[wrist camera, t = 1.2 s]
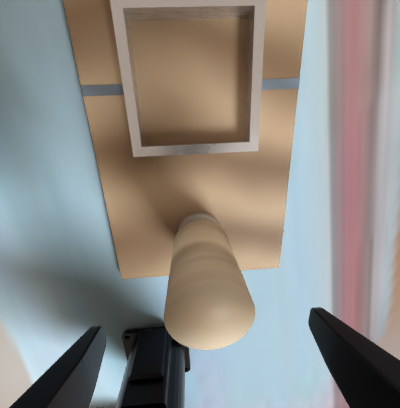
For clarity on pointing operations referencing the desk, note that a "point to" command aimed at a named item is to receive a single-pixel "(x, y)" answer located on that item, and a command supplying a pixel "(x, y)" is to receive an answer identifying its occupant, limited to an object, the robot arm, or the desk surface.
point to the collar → (190, 9)
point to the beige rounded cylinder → (206, 287)
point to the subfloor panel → (190, 129)
